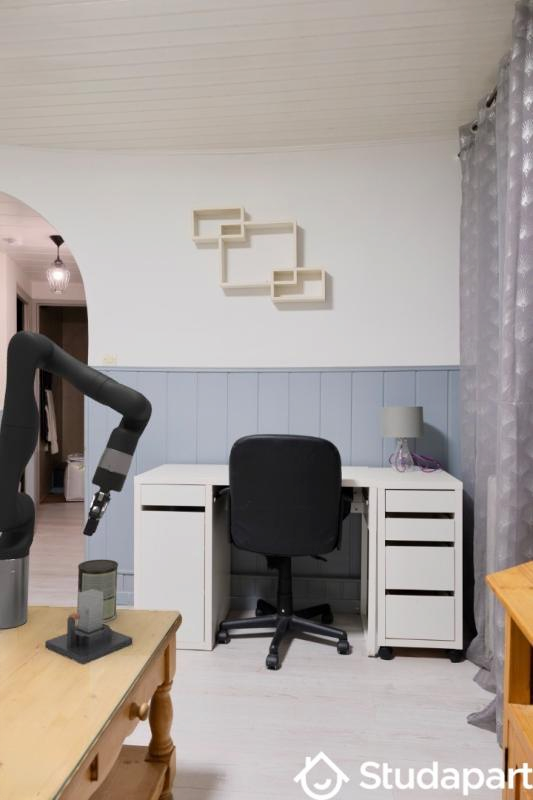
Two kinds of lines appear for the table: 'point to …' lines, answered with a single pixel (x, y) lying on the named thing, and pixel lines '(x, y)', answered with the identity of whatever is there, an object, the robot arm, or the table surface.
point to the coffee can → (100, 583)
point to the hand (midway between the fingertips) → (88, 533)
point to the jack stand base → (87, 642)
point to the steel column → (90, 611)
